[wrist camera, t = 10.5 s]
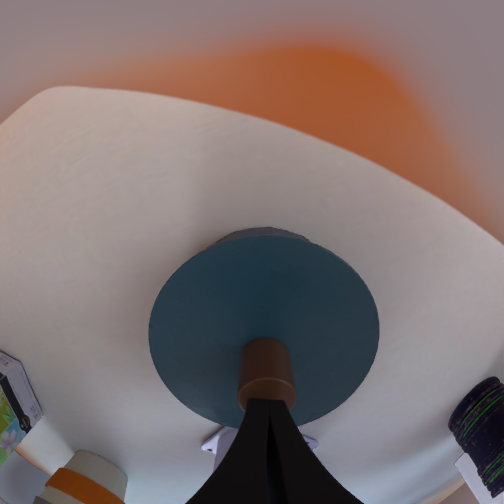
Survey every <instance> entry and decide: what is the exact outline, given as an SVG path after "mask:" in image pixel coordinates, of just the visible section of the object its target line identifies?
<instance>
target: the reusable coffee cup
mask: <svg viewBox="0 0 504 504" xmlns="http://www.w3.org/2000/svg"><path fill="white" fill-rule="evenodd" d="M127 482H128V478H127V476H126V475H125V473H124V472H123V471H122V470H120V469H119V468H118V467H117V466H115V465H114V464H112V463H111V462H109V461H107V460H106V459H104V458H102V457H100V456H98V455H96V454H94V453H91V452H88V451H84V450H79V451H77V452H76V454H75V455H74V456H73V457H72V458H71V459H70V461H69V462H68V463H67V464H66V465H65V466H64V468H59V469H58V470H57V471H56V472H55V473H54V475H53V476H52V477H51V478H50V479H49V480H48V481H47V483H46V484H45V487H46V488H45V490H44V491H43V492H42V493H41V494H40V495H39V497H38V496H36V497H35V500H34V502H33V504H125V503H124V497H125V492H126V487H127Z"/></svg>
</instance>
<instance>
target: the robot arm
mask: <svg viewBox="0 0 504 504" xmlns="http://www.w3.org/2000/svg"><path fill="white" fill-rule="evenodd" d="M317 446H318V442H317V441H315V440H313V439H310V438H307V437H305V436H302V434H301V433H300V431H299V429H298V428H297V426H296V424H295V422H294V420H293V418H292V416H291V414H290V412H289V410H288V407H287V405H286V403H285V401H284V400H275V399H262V398H249V399H247V404H246V410H245V415H244V418H243V421H242V423H241V426H240V428H239V429H236V428H231V427H227V426H225V427H223V428H222V429H221V430H220V431H218V432H217V433H216V434H214V435H213V436H212V437H210V438H209V439H208V440H206V441H205V442H204V443H202V444H201V448H202V449H203V450H205V451H207V452H209V453H212V454H214V455H216V457H215V464H214V471H213V474H212V475H211V476H210V477H209V479H208V480H207V481H206V482H205V483H204V485H203V486H202V487H201V488H200V489H199V490H198V491H197V493H196V494H195V495H194V496H193V497H192V498H191V499H190V500H189V501H187V502H186V503H185V504H364V503H362V502H361V501H360V500H359V499H357V498H356V497H355V496H354V495H352V494H351V493H350V492H349V491H348V490H346V489H345V488H344V487H343V486H342V485H341V484H340V483H339V482H338V481H337V480H336V479H335V478H334V477H333V476H332V475H331V474H330V473H329V472H328V471H327V469H326V468H325V467H324V466H323V465H322V463H321V462H320V461H319V460H318V458H317V457H316V456H315V454H314V453H313V449H314V448H316V447H317ZM0 504H8V503H7V502H6V501H5V500H3V499H2V498H1V497H0Z"/></svg>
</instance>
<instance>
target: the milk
mask: <svg viewBox="0 0 504 504" xmlns="http://www.w3.org/2000/svg"><path fill="white" fill-rule="evenodd" d="M454 465H455V466H456V468H457V469H458V471H459V472H460V474H461V475H462V477H463V478H464V480H465V481H466V483H467V484H468V486H469V487H470V489H471V490H472V492H473V493H474V495H475V497H476V498H477V500H478V501H479V503H480V504H504V491H503V492H502V493H500V494H499V495H498V496H496V497H495V498H492V497H491V495H490V494H491V492H490V491H488V490H487V488H486V487H487V486H484V484H483V483H482V479H481V478H480V476H478V473H477V467H476V466H475V464H474V463H473V461H472V459H471V458H470V456H469V455H468V453H464V454H463V455H462V456H461V457H460V458H459V459H458V460H457V461H456V462H455V463H454Z"/></svg>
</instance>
